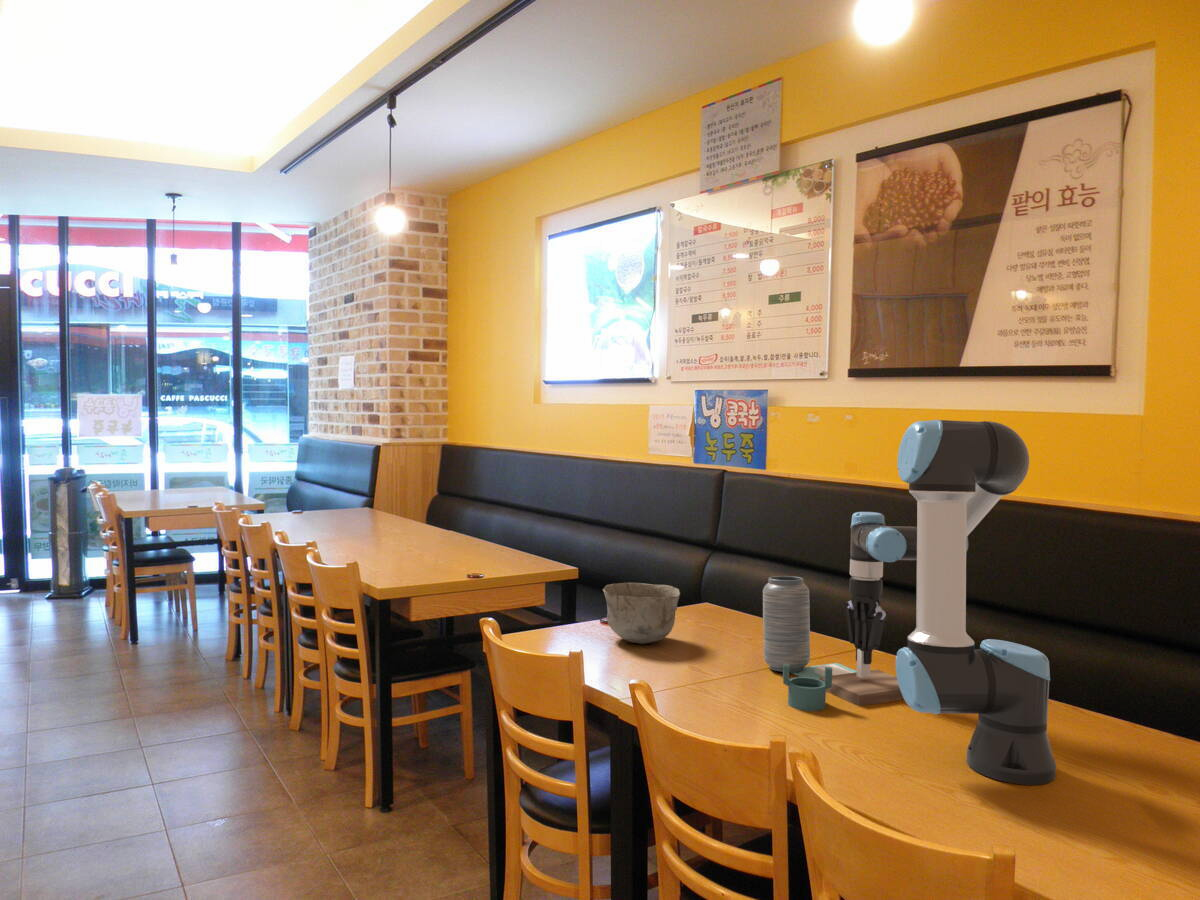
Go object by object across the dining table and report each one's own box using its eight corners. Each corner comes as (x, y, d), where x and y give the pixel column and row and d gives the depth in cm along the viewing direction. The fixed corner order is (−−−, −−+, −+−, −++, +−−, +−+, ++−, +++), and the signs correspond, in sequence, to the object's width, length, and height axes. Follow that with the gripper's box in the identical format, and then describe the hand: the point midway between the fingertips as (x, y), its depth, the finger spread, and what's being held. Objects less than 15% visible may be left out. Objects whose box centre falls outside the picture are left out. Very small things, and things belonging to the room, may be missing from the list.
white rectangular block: (857, 680, 215) (857, 674, 215) (838, 682, 213) (838, 676, 213) (833, 670, 224) (833, 664, 223) (814, 672, 221) (814, 666, 221)
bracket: (834, 707, 196) (836, 667, 196) (804, 713, 192) (805, 673, 192) (806, 696, 204) (807, 658, 204) (776, 701, 200) (777, 662, 199)
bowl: (607, 629, 261) (608, 579, 261) (680, 633, 258) (681, 583, 258) (596, 649, 240) (597, 595, 239) (676, 654, 237) (678, 599, 236)
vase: (794, 661, 232) (793, 574, 232) (819, 671, 221) (818, 579, 221) (755, 665, 228) (754, 576, 228) (778, 675, 217) (777, 582, 217)
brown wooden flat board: (919, 696, 205) (919, 686, 205) (858, 706, 197) (859, 695, 197) (877, 679, 218) (877, 669, 218) (818, 687, 210) (819, 677, 210)
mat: (874, 679, 217) (874, 678, 217) (822, 687, 211) (822, 685, 211) (836, 664, 230) (837, 663, 230) (786, 670, 223) (786, 669, 223)
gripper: (898, 581, 204) (895, 682, 205) (859, 572, 216) (856, 667, 216) (873, 583, 201) (870, 685, 201) (835, 573, 212) (832, 670, 213)
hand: (863, 676), depth 209 cm, fingers closed
